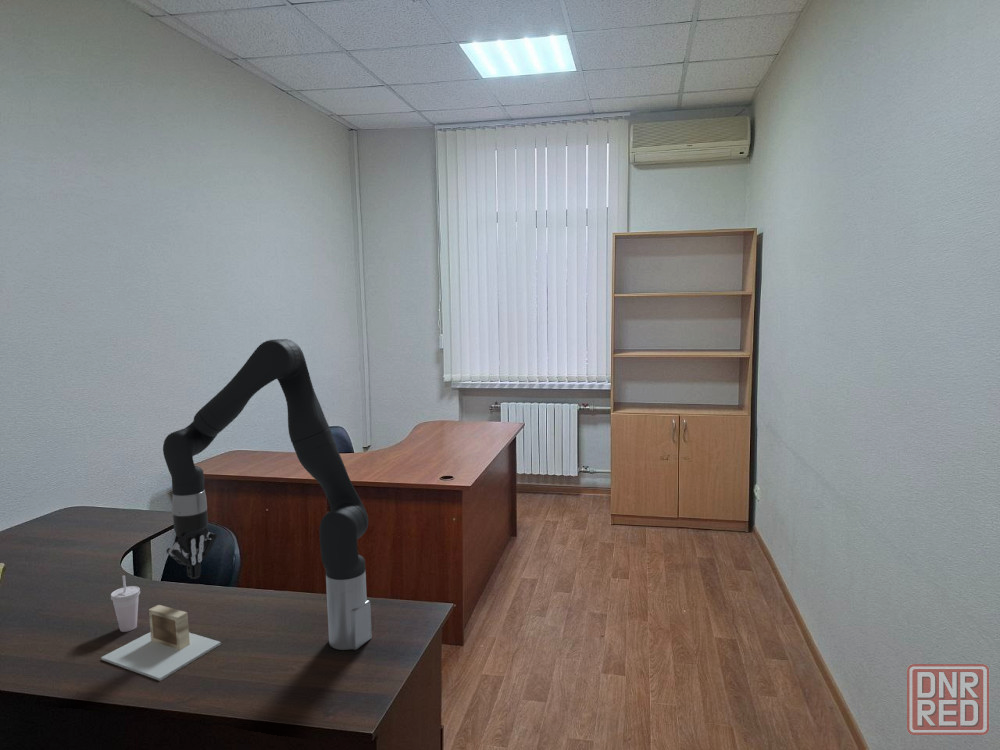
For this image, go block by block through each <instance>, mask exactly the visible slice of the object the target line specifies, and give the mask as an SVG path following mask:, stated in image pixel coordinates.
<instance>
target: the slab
mask: <svg viewBox="0 0 1000 750" xmlns="http://www.w3.org/2000/svg"><path fill="white" fill-rule="evenodd" d="M148 614H149V615H148V617H149V629H150V630H149V631H150V632H151V641H153V642H156V643H159V644H163V645H166V646H169V647H172V648H176V649H179V650H181V649H183V648H185V647H186V646H188V645H190V640H189V633H190V630H189V629H190V628H189V615H188V612H187V611H183V610H181V609H176V608H172V607H168V606H165V605H161V604H157V605H155V606H152V607H151V608H149V609H148Z"/></svg>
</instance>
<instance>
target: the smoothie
mask: <svg viewBox="0 0 1000 750" xmlns="http://www.w3.org/2000/svg"><path fill="white" fill-rule="evenodd" d="M125 575H126V574H125ZM125 575H122V586H123V587H121V588H117V589H116V590H114V591H112V592H111V593H110V600H111V601H112V603H113V607H114V612H115V615H116V619H117V624H118V628H119V631H120V632H122V633H126V632H130V631H133V630H135V629H136V628H137V627H138V613H139V612H138V611H139V596H140V594H141V589H140V587H139V586H136V585H129V586H127V584H126V583H127V582H126V576H125Z"/></svg>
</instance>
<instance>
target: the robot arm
mask: <svg viewBox="0 0 1000 750" xmlns="http://www.w3.org/2000/svg"><path fill="white" fill-rule="evenodd" d="M275 380H277V381H278V383H279V386H280V388H281V390H282V393H283V394H284V397H285V402H286V407H287V428H288V429H287V430H288V435H289V438H290V442H291V443H292V444H291V445H292V447H293V450H294V452H295V455H296V457H297V459H298V462H299V463H300V464H301V466H302V467H303V469H305V471H307V472H308V474H309V475H311V476H312V478H313V479H314V480H315V481H316V482H317V483H318V484H319V485H320V487H321V488H322V490H323V492H324V494H325V496H326V498H327V501H328V503H329V507H330V511H329V512H327V513H326V514H325V515H324V516H323V517H322V518H321V521H320V525H319V532H318V533H319V548H320V558H321V562H322V565H323V568H324V569H325V583H326V604H327V608H326V609H327V626H328V628H327V630H328V644H329V646H330V647H331V648H333V649H336V650H339V651H340V650H341V651H345V650H348V651H349V650H355V651H357V650H358V649H359V648H361V647H362V646H363V645H364V644H366V643H367V642H368V641H369V640H371V639H372V638H373V637H372V616H371V615H372V612H371V610H372V609H371V601H370V600H368V598H367V597H368V596H367V577H366V576H367V574H366V559H365V558H364V556H362V555H360V554H359V551H358V540H359V539H360V538H361V537H362V536H363V535H365V533H366V532H367V530H368V526H369V515H368V512H367V510H366V508H365V506H364V503H363V502H362V500H361V498H360V496H359V494H358V492H357V491H356V489H355V486H354V485H353V482H352V481H351V479H350V476H349V474H348V472H347V468H346V466H345V464H344V461H343V459H342V457H341V454H340V451H339V449H338V446H337V443H336V441H335V438H334V436H333V433H332V430H331V427H330V425H329V423H328V421H327V419H326V416H325V414H324V412H323V409H322V407H321V406H322V405H321V404H320V401H319V399H318V397H317V394H316V392H315V390H314V387H313V383H312V380H311V376H310V372H309V369H308V364H307V362H306V359H305V355H304V352H303V350H302V349H301V347H300V346H299V344H298V343H296V342H295V341H293V340H292V339H288V338H282V339H279V338H278V339H269V340H265V341H264V342H261V343H260V344H259V345H258V346H257V348H255V350H254V351H253V352H252V354H251V355H250V356H249V357H248V359H247V360H246V361H245V363H244V364H243V366H241V368H240V369H239V371H238V372H237V373H236V374H235V375H234V376H233V377H232V378H231V380H230V381H229V382H228V383H227V384H226V385H225V386H224V387H222V389H221V390H220V391H218V392H217V394H216V395H215V396H214V397H212V398H211V399H210V400H209V401H208V402H207V403H206V404H204V405H203V407H201V408H200V409H199V410H198V411H197V412H196V414H194V415H193V420H192V422H190V424H189V425H187V426H186V427H184V428H182V429H178V430H176V431H173V432H170V433H169V434H168V435H167V436H166V437H165V439H164V441H163V446H162V454H163V457H164V460H165V463H166V466H167V470H168V472H169V474H170V476H171V487H172V488H171V489H172V502H171V503H172V504H171V505H172V518H173V519H172V520H173V530H174V533H175V538H174V544H173V545H172V546H171V547H168V548H167V549H166V553H167V554H168V555H169V556H170V557H171V558H173V559H174V561H176V563H178V564H179V565H184V566H186V572H187V573H186V575H187V577H188V578H189V579H192V580H196V579H198V578H200V577H201V574H202V564H201V563H202V560H203V559H204V558H208V556H209V553H210V551H211V550H212V547H213V545H214V543H215V541H216V539H217V536H218V535H217V534H216V533H214V532H210V531H209V528H208V525H209V515H208V501H207V495H206V488H205V474H204V470H203V469H202V468H201V466H197V465H195V462H194V456H197V455H198V454H200V453H202V452H203V451H204V450H206V449H207V448H208V447H209V446H210V444H211V443H213V442H214V440H215V438H216V437H217V436H218V434H219V433H221V432H222V431H223V430H224V429H226V428H227V427H228V426H229V425H230V424H231V423H233V421H234V420H235V419H236V418H237V417H238V416H239V415H240V414H241V413H242V412H243V410H244V409H245V407H246V406H247V404H248V403H249V401H250V399H251V398H253V396H254V395H256V394H257V392H259V391H260V390H261V389H263V388H264V387H266V386H267V385H269V384H270V383H272V382H273V381H275Z"/></svg>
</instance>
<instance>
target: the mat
mask: <svg viewBox="0 0 1000 750" xmlns="http://www.w3.org/2000/svg"><path fill="white" fill-rule="evenodd" d="M189 640H190V645H188V646H186V647H185V648H183V649H181V650H179V649H176V648H172V647H169V646H166V645H163V644H159V643H156V642H153V641H151V632H148V633H146V634H143V635H142V636H140V637H137V638H135V639H134V640H131V641H130V642H128V643H126V644H125V645H122V646H120V647H119V648H116V649H114V650H112V651H110V652H108V653H107V654H105V655H103V656H101V657H100V659H101V660H102V661H104V662H107V663H109V664H112V665H114V666H117V667H121V668H123V669H127V670H128V671H131V672H135V673H137V674H139V675H142V676H146V677H148V678H151V679H152V680H153V679H154V680H157V681H159V682H160V681H163V680H164V679H166V678H167V677H169V676H170V675H173V674H174V673H176V672H178V671H179V670H180V669H181V670H182V669H183V668H184V667H186V666H187V665H189V664H191V663H193V662H194V661H196V660H197V659H199V658H201V657H203V656H205V655H206V654H208V653H209V652H210V651H212V650H214V649H216V648H217V647H219V646H220V645H222V642H221V641H219V640H215V639H212V638H209V637H205V636H202V635H199V634H195V633H194V632H192V633H191V632H189Z"/></svg>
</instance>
